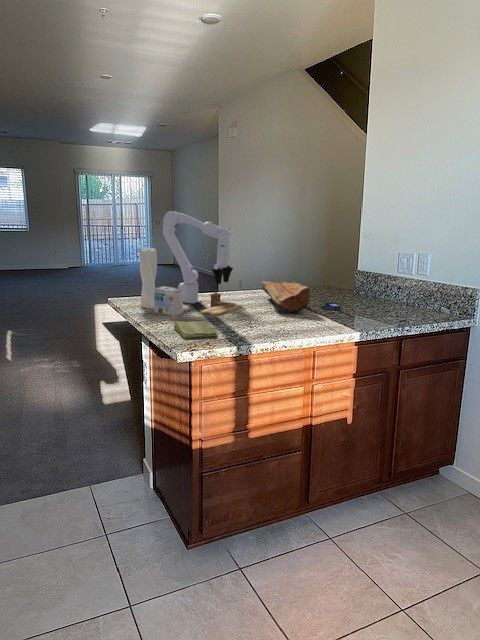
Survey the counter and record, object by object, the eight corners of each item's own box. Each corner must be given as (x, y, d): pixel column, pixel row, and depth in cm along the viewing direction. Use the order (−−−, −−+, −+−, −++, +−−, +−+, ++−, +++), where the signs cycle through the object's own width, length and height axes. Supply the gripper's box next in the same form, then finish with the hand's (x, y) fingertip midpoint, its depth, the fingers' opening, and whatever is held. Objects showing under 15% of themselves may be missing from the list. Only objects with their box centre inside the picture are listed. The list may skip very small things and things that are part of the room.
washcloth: (183, 341, 160) (183, 331, 159) (172, 328, 176) (172, 320, 175) (219, 338, 164) (220, 330, 164) (205, 327, 181) (206, 319, 180)
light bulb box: (153, 312, 201) (153, 287, 198) (163, 310, 207) (163, 286, 204) (174, 316, 196) (174, 290, 194) (183, 313, 202) (183, 288, 200)
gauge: (210, 306, 218) (210, 292, 217) (214, 305, 222) (214, 291, 221) (232, 309, 214) (233, 295, 212) (236, 308, 217) (236, 293, 216)
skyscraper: (136, 307, 210) (135, 244, 204) (144, 304, 217) (144, 243, 211) (152, 309, 208) (152, 245, 202) (159, 306, 215) (159, 244, 209)
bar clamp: (316, 301, 230) (334, 301, 233) (315, 306, 230) (333, 306, 233) (348, 318, 200) (369, 317, 203) (348, 324, 201) (368, 323, 203)
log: (308, 314, 206) (312, 280, 206) (269, 310, 205) (273, 276, 204) (291, 310, 249) (294, 282, 248) (258, 307, 247) (261, 279, 246)
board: (200, 313, 203) (200, 310, 203) (224, 305, 224) (224, 302, 223) (218, 315, 200) (219, 313, 199) (241, 307, 220) (241, 305, 220)
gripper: (223, 256, 215) (222, 285, 218) (237, 254, 228) (236, 282, 231) (210, 255, 218) (209, 284, 221) (224, 253, 231) (223, 280, 234)
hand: (222, 282), depth 226 cm, fingers open, 7 cm apart
